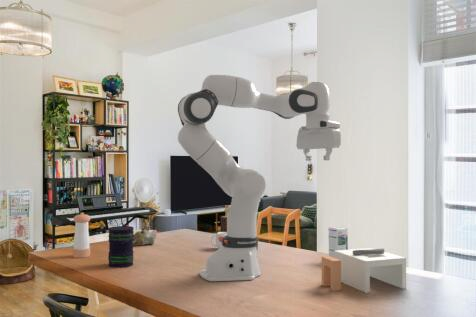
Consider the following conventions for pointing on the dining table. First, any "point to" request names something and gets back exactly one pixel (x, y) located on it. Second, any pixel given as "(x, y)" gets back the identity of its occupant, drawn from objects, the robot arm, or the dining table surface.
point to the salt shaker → (81, 236)
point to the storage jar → (121, 246)
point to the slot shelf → (371, 267)
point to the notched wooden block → (331, 272)
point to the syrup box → (337, 239)
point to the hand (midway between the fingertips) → (317, 160)
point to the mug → (218, 239)
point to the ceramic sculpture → (144, 237)
